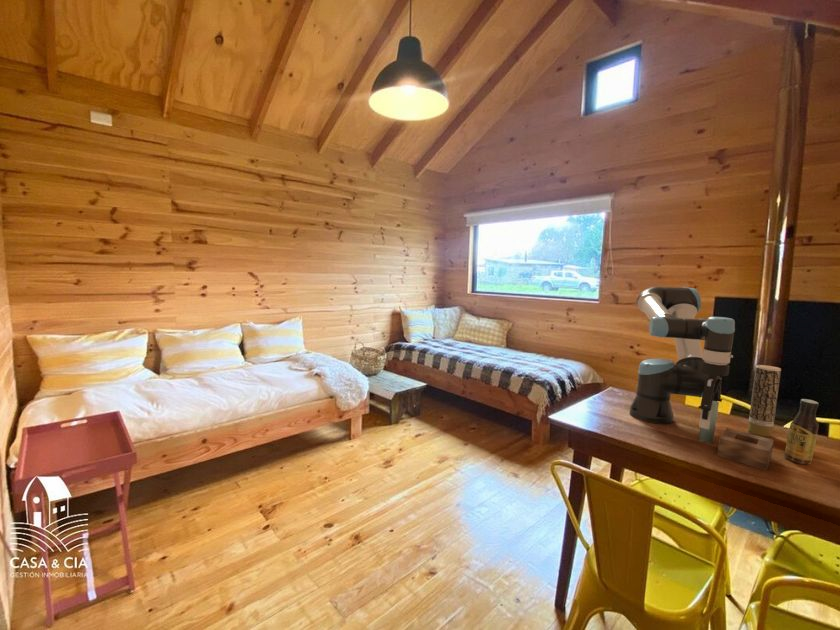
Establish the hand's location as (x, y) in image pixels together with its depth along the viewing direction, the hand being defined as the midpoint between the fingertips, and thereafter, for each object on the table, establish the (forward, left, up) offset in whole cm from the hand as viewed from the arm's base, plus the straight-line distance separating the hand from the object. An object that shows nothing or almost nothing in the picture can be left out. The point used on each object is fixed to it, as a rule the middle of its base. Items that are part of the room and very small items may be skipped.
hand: (708, 423), depth 134 cm
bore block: (+11, -5, -6) cm, 14 cm away
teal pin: (0, 0, -6) cm, 6 cm away
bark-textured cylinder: (+12, +22, -6) cm, 26 cm away
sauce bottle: (+23, +5, -6) cm, 24 cm away
